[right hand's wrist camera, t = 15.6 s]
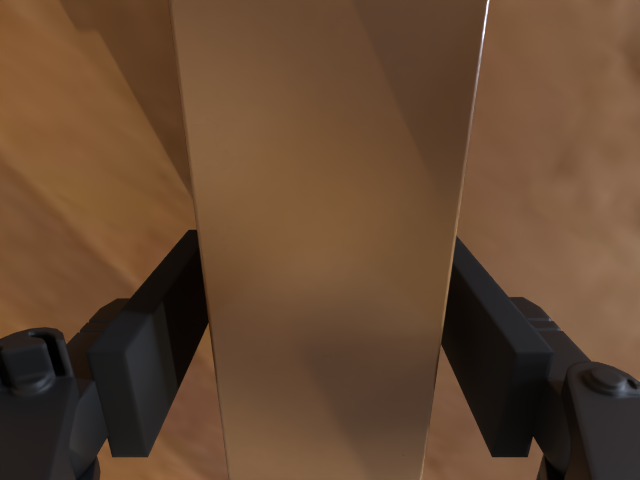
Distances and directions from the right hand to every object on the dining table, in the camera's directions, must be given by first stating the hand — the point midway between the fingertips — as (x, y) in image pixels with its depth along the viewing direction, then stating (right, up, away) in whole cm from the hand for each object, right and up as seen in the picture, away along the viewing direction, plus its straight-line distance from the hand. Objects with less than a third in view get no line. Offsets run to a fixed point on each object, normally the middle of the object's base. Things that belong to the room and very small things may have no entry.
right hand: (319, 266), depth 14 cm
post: (0, +28, -9) cm, 30 cm away
